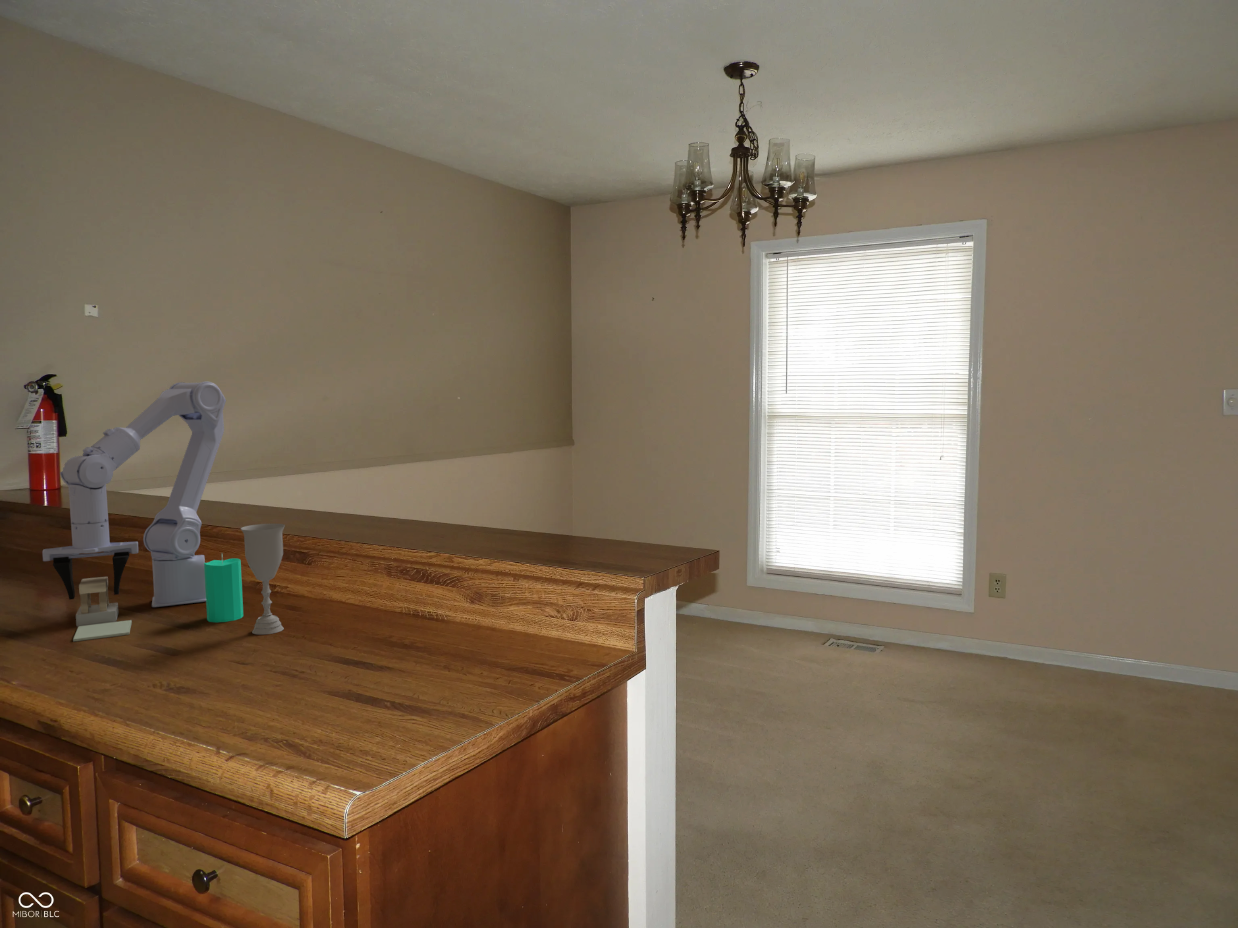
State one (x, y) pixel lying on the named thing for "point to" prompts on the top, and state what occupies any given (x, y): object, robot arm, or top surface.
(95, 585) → the beige toy stool
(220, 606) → the candle
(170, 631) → the top surface
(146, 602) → the top surface
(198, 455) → the robot arm
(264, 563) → the chalice
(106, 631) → the mat
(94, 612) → the step
